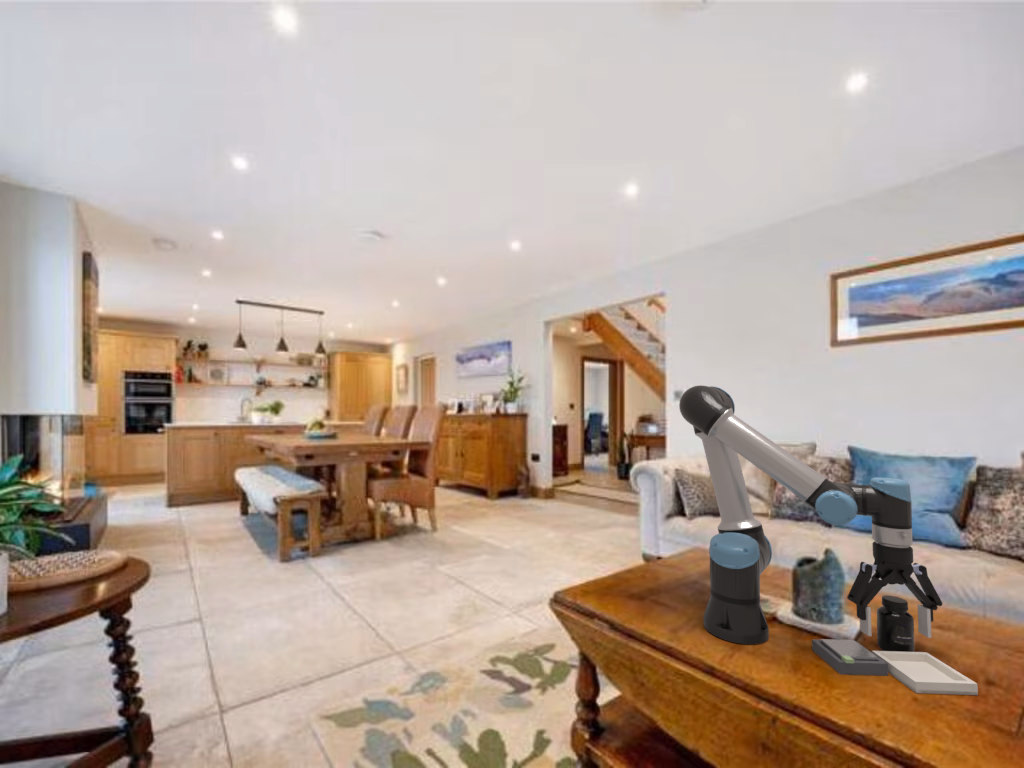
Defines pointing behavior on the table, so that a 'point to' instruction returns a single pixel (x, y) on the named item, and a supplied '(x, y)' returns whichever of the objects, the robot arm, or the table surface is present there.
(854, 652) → the grey square tile
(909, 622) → the supplement bottle
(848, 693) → the table surface
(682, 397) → the robot arm
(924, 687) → the dish
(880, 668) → the grey square framed panel
